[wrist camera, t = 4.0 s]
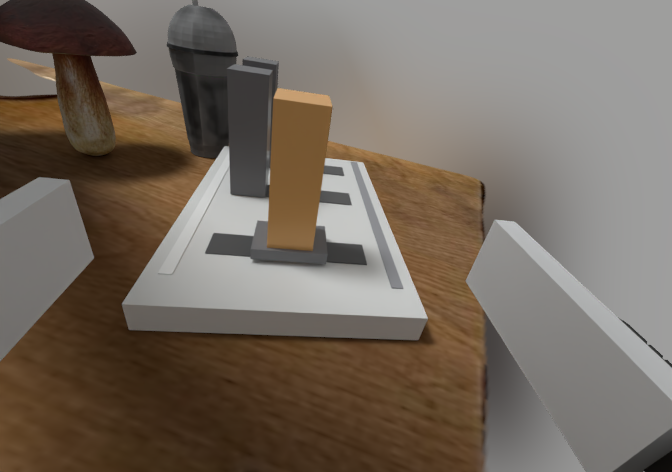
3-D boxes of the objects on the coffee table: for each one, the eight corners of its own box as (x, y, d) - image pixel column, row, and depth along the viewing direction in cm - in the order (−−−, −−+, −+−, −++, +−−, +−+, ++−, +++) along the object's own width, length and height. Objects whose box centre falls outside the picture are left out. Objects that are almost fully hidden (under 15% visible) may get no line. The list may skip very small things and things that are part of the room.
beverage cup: (251, 154, 43) (253, -39, 32) (204, 166, 37) (187, -62, 27) (214, 138, 46) (205, -44, 35) (166, 147, 40) (137, -64, 30)
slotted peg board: (128, 329, 18) (62, 100, 11) (225, 161, 40) (221, 49, 33) (418, 340, 20) (498, 157, 14) (360, 177, 42) (380, 75, 36)
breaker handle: (250, 258, 21) (252, 96, 16) (257, 229, 24) (260, 84, 19) (326, 264, 22) (352, 110, 16) (323, 235, 25) (344, 97, 19)
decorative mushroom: (168, 163, 37) (147, 3, 29) (46, 182, 29) (-30, -26, 21) (130, 134, 42) (103, -7, 34) (19, 144, 35) (-49, -32, 27)
